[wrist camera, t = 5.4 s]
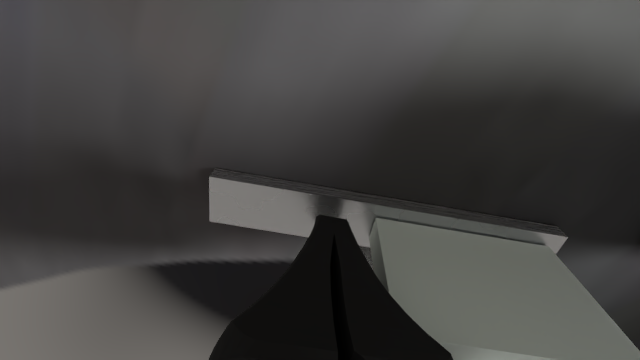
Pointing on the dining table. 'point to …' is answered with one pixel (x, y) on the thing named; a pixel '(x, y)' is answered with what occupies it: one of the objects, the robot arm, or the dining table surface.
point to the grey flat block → (493, 296)
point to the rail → (350, 211)
